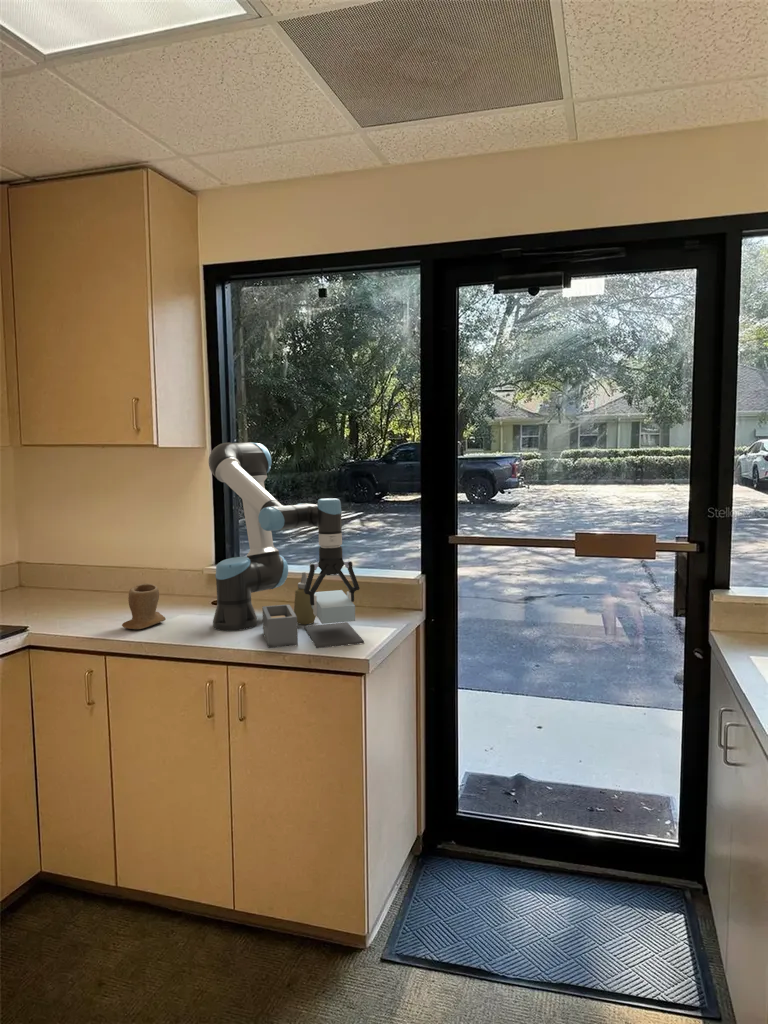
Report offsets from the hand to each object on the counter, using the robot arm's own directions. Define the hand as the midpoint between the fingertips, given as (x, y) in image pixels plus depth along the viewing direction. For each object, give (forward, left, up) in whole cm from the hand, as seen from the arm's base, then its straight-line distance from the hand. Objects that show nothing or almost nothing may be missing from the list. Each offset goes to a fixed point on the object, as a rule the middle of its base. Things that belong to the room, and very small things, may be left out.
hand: (332, 613), depth 211 cm
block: (0, 0, 0) cm, 0 cm away
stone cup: (-34, -60, -8) cm, 70 cm away
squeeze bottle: (-19, -6, -8) cm, 21 cm away
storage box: (-2, -17, -7) cm, 19 cm away
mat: (0, 0, -7) cm, 7 cm away
